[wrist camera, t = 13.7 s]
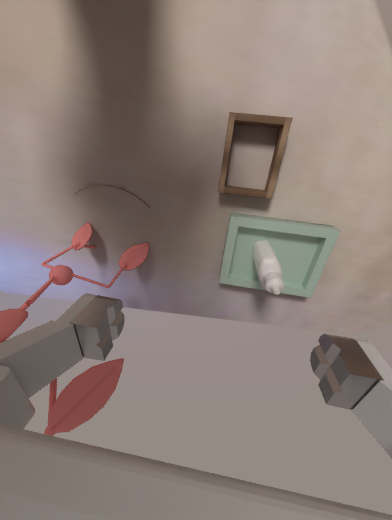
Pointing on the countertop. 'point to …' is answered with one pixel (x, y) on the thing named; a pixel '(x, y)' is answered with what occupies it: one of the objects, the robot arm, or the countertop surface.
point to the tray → (277, 251)
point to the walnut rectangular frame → (284, 129)
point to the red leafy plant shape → (95, 378)
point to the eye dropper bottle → (268, 267)
